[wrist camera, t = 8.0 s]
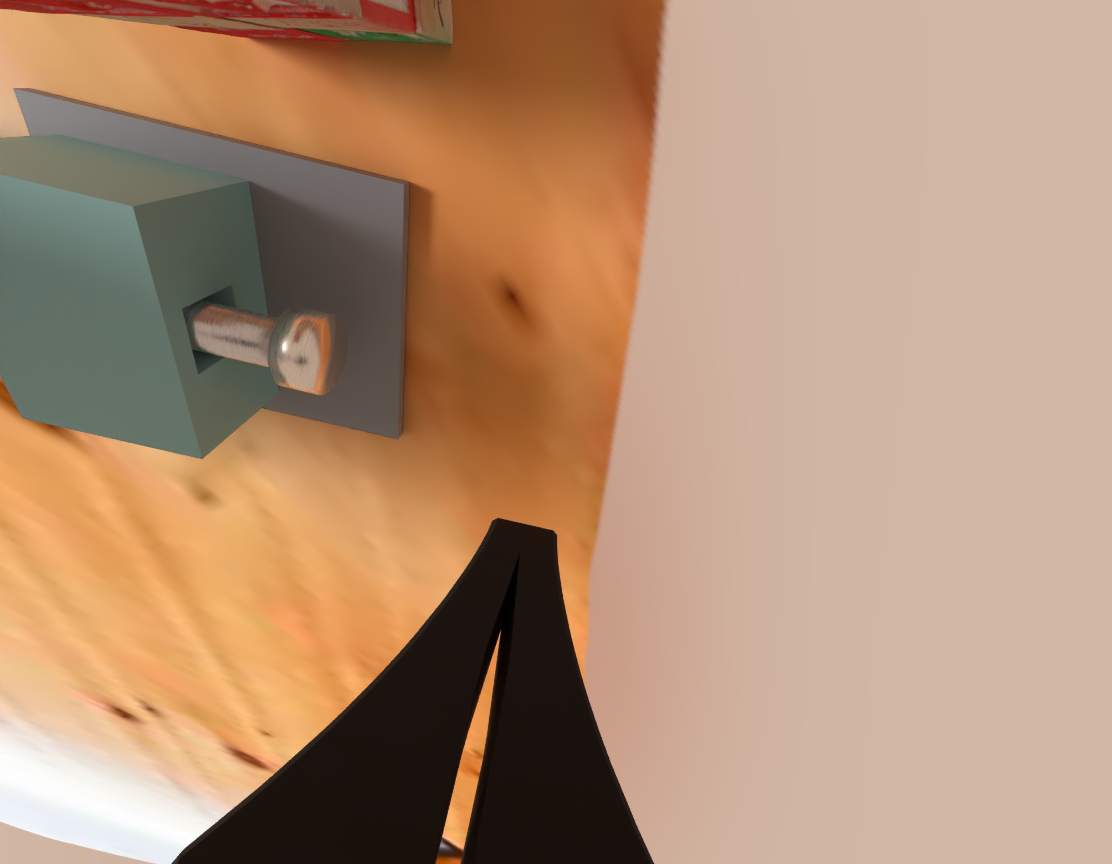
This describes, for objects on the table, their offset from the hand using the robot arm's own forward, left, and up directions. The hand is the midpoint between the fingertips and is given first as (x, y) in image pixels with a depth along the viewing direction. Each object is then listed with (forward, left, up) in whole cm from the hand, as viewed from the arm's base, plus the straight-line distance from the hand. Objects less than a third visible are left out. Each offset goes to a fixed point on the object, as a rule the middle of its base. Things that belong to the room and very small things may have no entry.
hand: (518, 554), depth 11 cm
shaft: (-8, +10, -8) cm, 15 cm away
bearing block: (-8, +9, -9) cm, 15 cm away
